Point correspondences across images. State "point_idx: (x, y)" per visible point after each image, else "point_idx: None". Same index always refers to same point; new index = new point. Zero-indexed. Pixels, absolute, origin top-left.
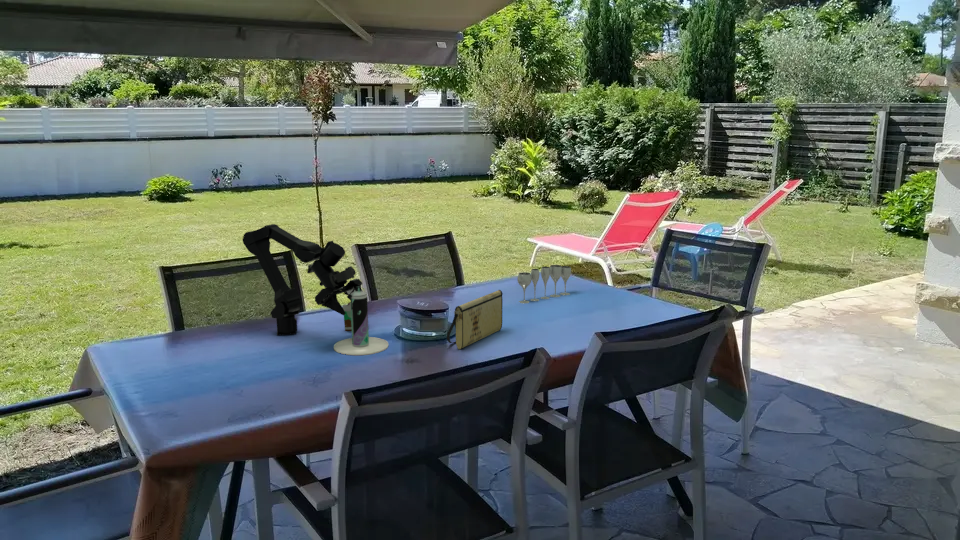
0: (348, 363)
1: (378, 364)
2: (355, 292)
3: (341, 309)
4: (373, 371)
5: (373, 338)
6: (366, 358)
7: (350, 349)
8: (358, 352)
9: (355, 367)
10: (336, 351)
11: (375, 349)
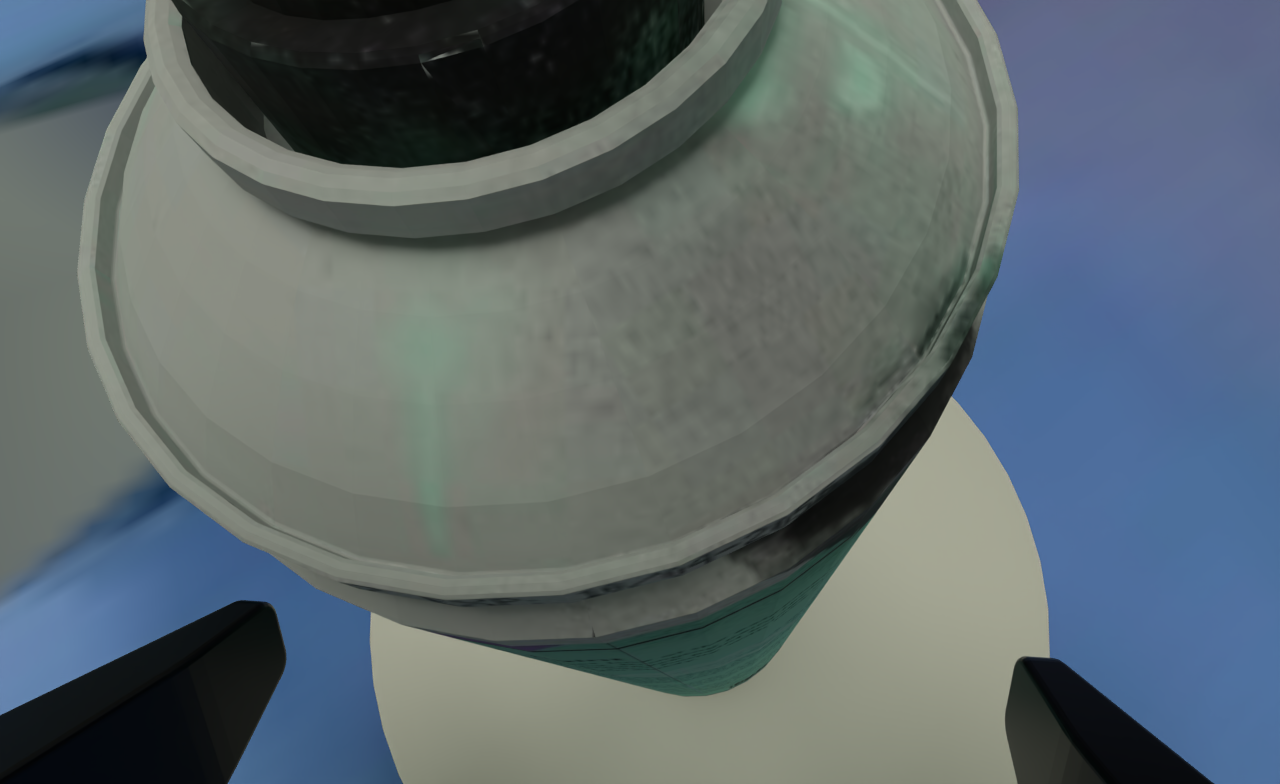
0: (1239, 366)
1: (1058, 124)
2: (800, 12)
3: (1186, 773)
4: (1234, 61)
5: None
6: (991, 303)
7: (901, 596)
8: (940, 440)
9: (1277, 239)
10: None
11: None
